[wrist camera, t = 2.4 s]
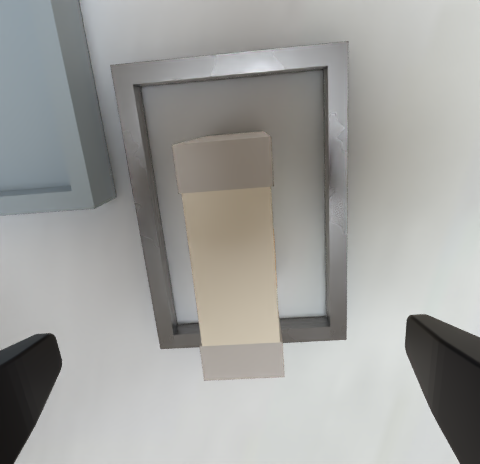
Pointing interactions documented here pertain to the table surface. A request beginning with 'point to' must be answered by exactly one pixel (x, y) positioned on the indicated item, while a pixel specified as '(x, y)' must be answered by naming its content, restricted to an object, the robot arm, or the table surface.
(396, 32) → the table surface
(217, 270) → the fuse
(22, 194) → the tray
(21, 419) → the robot arm
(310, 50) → the holder frame
